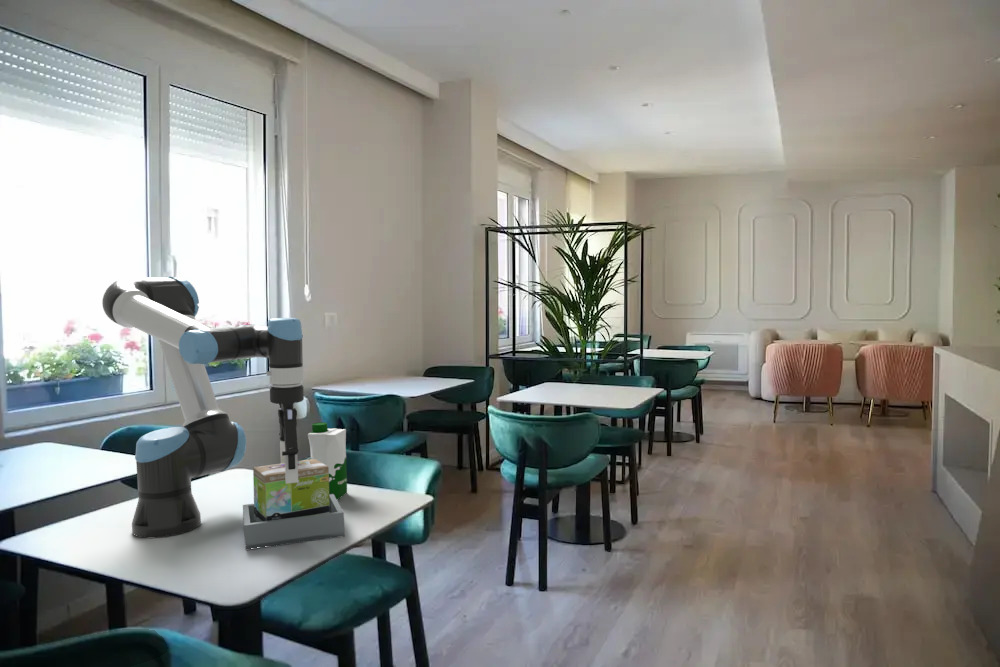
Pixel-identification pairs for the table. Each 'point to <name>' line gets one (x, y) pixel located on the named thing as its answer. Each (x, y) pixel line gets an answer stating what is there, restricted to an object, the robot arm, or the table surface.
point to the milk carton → (330, 455)
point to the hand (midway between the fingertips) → (289, 475)
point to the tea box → (290, 491)
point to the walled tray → (293, 527)
